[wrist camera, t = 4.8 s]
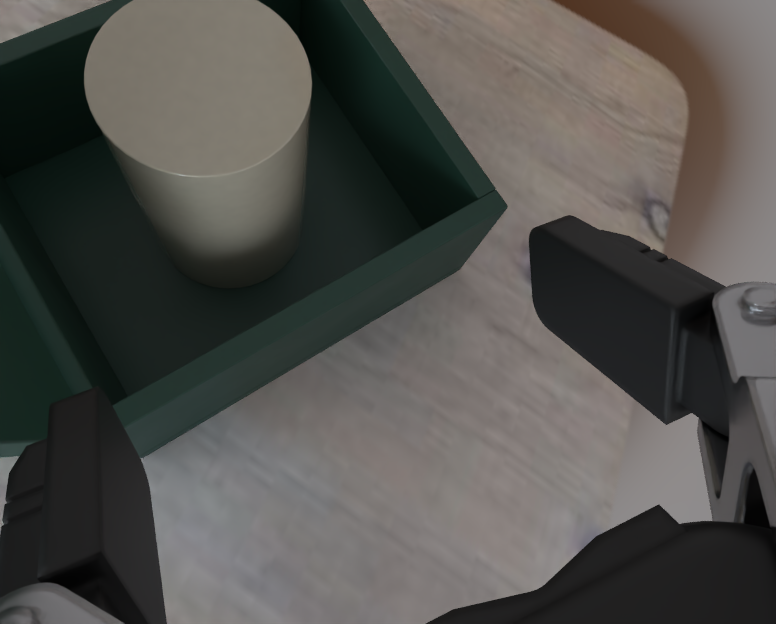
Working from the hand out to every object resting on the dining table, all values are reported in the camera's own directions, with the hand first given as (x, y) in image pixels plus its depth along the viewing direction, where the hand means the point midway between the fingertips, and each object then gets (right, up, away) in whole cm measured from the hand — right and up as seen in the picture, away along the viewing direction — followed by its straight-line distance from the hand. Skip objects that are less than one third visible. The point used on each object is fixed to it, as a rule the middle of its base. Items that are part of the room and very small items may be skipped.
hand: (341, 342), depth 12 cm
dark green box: (-6, +4, +17) cm, 18 cm away
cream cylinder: (-6, +4, +16) cm, 18 cm away
